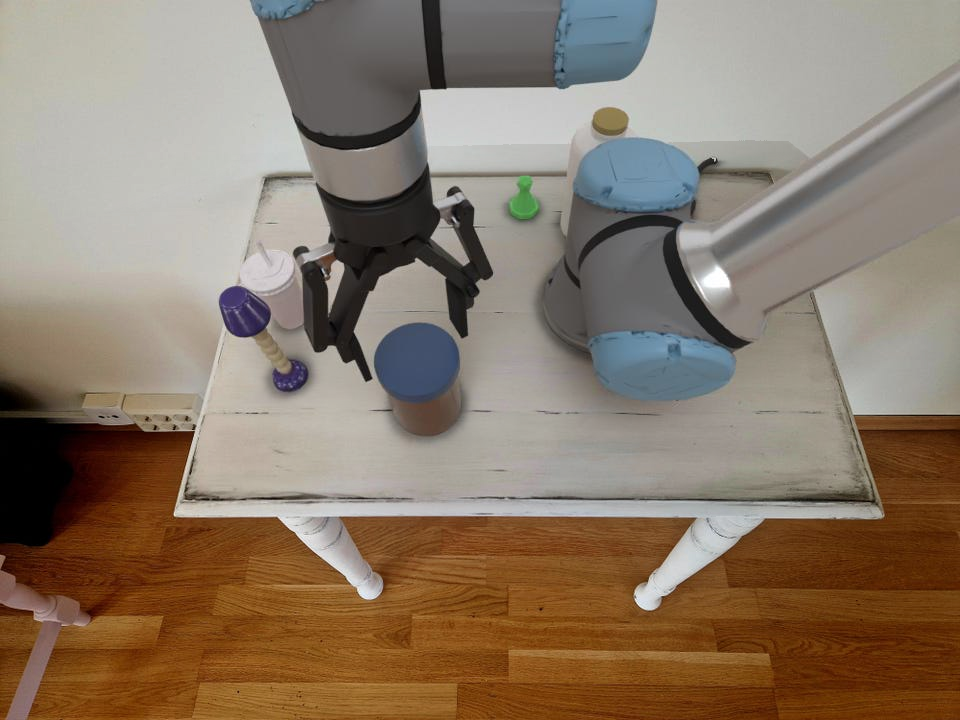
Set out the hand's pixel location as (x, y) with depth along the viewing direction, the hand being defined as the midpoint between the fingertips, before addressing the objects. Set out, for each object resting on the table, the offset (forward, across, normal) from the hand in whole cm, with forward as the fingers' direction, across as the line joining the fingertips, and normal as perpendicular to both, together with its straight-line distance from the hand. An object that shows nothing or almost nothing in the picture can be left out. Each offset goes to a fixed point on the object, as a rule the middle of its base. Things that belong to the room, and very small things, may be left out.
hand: (412, 348), depth 56 cm
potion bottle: (+13, -32, -14) cm, 37 cm away
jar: (+13, 0, 0) cm, 13 cm away
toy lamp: (+13, +13, -11) cm, 22 cm away
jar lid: (+2, 0, 0) cm, 2 cm away
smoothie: (+13, +10, -20) cm, 26 cm away
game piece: (+13, -26, -22) cm, 36 cm away
